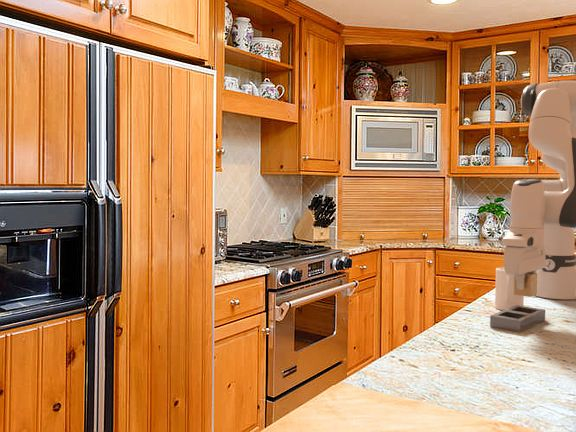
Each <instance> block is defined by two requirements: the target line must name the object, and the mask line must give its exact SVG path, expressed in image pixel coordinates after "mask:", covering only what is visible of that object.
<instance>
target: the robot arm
mask: <svg viewBox="0 0 576 432" xmlns="http://www.w3.org/2000/svg"><path fill="white" fill-rule="evenodd" d="M520 97H521V98H520V106H521V111H522V113H524V115H526V116H528V117H530V119H529V126H528V141H529V143H530V145H531V146H532V147H533V149H535V150H536V151H538V152H540V153H541V161H542V163H543V164H544V165H545V167H548V168H550V169H551V170H554V171H556V172H557V173H558V175H559V179H537V178H525V179H519V180H516V181H515V182H514V183H513V185H512V187H511V188H512V189H511V193H510V201H509V203H510V205H509V213H510V218H511V219H510V223H509V231H508V233H507V234H506V235H505V236H504V237H502V246H504V249H503V267H504V270H505V272H506V274H509V275H515V279H516V282H517V289H520V290H523V289H525V285H526V283H524V277H525V273H528V272H532V273H537V295H534V296H535V297H540V298H544V299H552V300H554V299H555V300H576V254H575V246H576V244H575V242H576V241H575V239H576V236H575V231H574V230H573V229H576V80H573V79H572V80H559V81H558V80H557V81H550V82H542V83H538V82H537V83H531V84H529V85H526V87H525V88H523V91H522V94H521V96H520Z"/></svg>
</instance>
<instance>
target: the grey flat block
mask: <svg viewBox="0 0 576 432" xmlns="http://www.w3.org/2000/svg"><path fill="white" fill-rule="evenodd" d="M489 319H490V320H489V327H490V328H495V329H501V330H506V331H511V332H514V333H515V332H517V333H523V332H524V331H526V330H528V329H530V328H532V327H535V326H536V325H539V324H541V323H542V322H545V321H546V309H542V308H536V307H531V306H525V305H524V306H519V305H516V306H513V307H511V308H508V309H506V310H500V311H499V312H496V313H494V314H491V315H490V318H489Z"/></svg>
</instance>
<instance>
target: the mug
mask: <svg viewBox="0 0 576 432" xmlns="http://www.w3.org/2000/svg"><path fill="white" fill-rule="evenodd" d="M494 292H495V294H494V296H495V297H494V305H493V306H494V308H495V309H497V310H500V311H503V310H506V309H508V308H511V307H513V306H516V305H519V306H525V305H524V301H525V300H524V297H525V296H520V295H514V275H509V274H506V272H505V270H504V266H502V267H500V266H499V267H496V268H495V291H494Z"/></svg>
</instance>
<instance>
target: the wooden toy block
mask: <svg viewBox="0 0 576 432" xmlns="http://www.w3.org/2000/svg"><path fill="white" fill-rule="evenodd" d="M524 283H526V285H525V289H523V290H520V289H517V282H516V279H515V275H514V295H520V296H524V297H528V298H531V297H534V296H535V295H537V273H532V272H528V273H525V277H524Z"/></svg>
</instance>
